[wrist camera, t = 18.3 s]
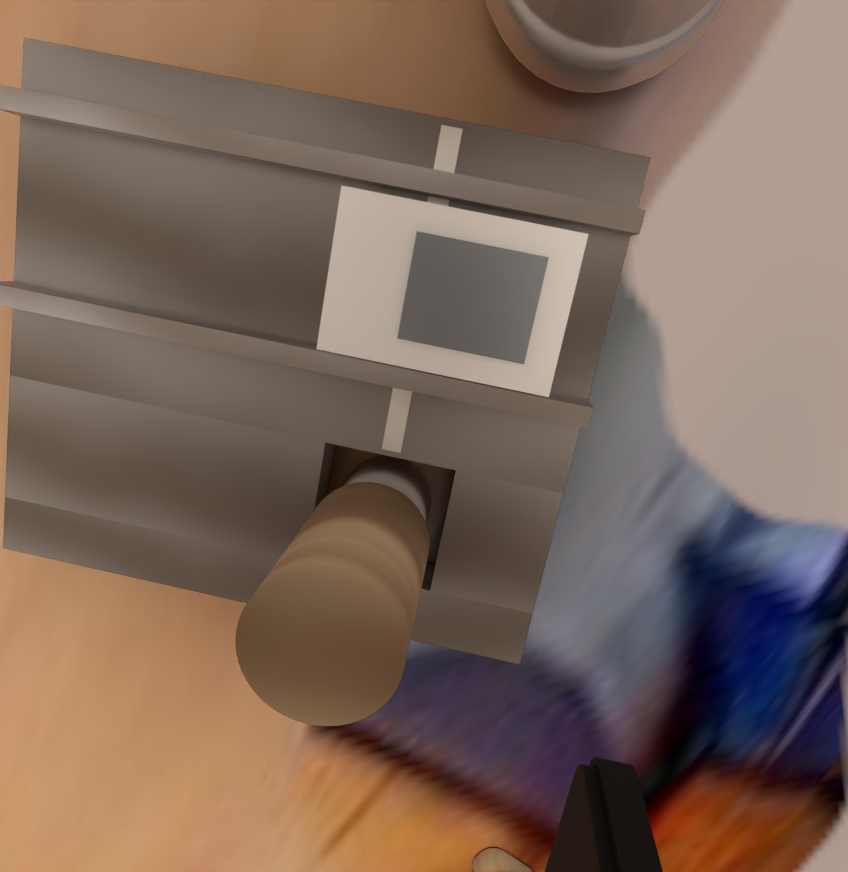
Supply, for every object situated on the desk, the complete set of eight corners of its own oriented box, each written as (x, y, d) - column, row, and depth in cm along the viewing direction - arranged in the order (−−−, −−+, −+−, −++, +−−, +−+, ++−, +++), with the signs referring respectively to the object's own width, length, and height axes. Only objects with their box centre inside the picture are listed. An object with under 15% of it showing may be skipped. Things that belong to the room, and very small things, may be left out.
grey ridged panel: (65, 57, 22) (-6, 22, 19) (635, 167, 21) (661, 150, 18) (39, 526, 26) (-23, 562, 23) (517, 633, 25) (520, 685, 22)
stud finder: (363, 197, 19) (340, 184, 16) (573, 238, 19) (589, 233, 16) (340, 337, 20) (314, 349, 17) (540, 378, 20) (549, 398, 17)
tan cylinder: (345, 437, 24) (246, 554, 14) (448, 458, 24) (420, 592, 14) (329, 533, 25) (225, 704, 15) (428, 554, 24) (388, 742, 15)
